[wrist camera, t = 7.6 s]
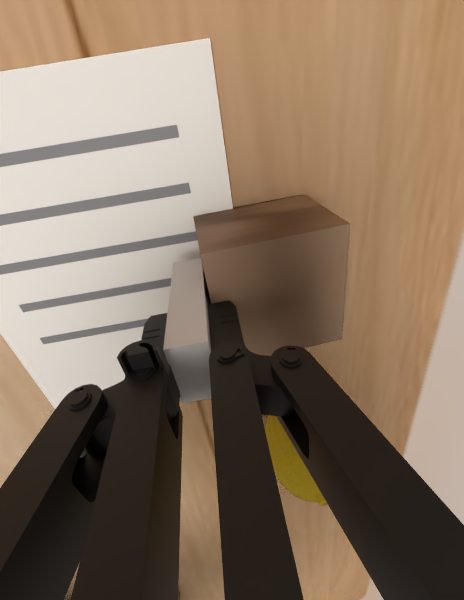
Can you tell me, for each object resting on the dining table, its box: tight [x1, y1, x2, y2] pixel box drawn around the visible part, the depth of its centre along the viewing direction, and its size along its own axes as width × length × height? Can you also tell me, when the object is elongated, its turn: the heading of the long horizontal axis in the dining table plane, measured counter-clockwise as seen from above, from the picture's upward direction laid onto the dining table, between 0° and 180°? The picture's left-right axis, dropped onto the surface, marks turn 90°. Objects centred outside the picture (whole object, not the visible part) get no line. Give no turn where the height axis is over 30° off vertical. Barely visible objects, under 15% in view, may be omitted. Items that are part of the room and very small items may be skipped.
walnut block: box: [193, 195, 350, 356], centre depth 15 cm, size 6×6×5 cm
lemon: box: [265, 415, 327, 506], centre depth 21 cm, size 6×6×8 cm
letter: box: [0, 38, 233, 409], centre depth 17 cm, size 15×20×1 cm
